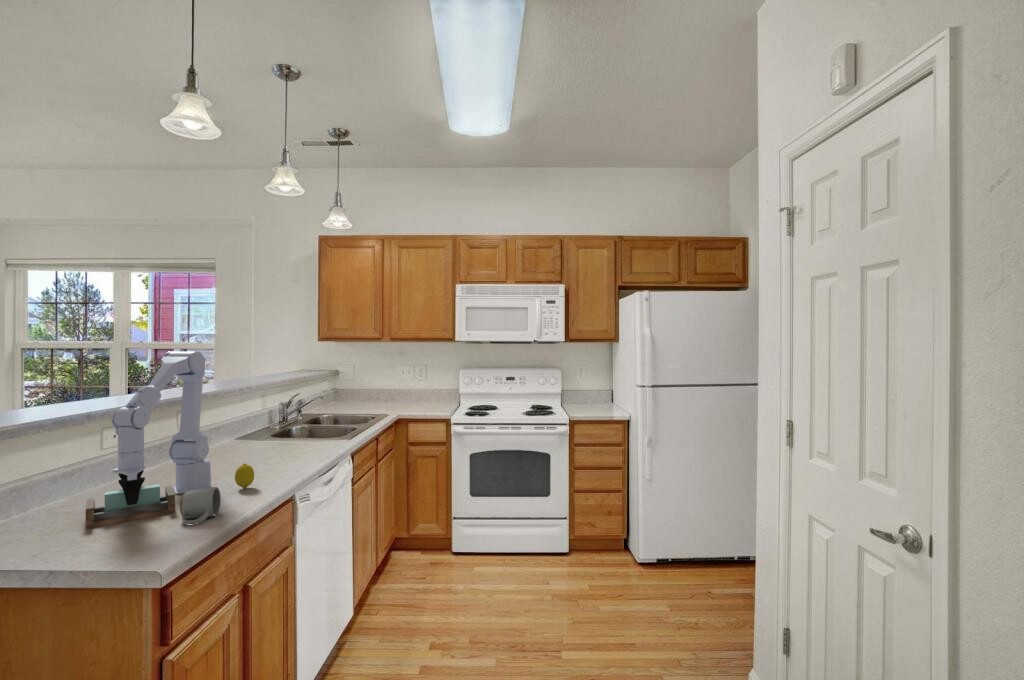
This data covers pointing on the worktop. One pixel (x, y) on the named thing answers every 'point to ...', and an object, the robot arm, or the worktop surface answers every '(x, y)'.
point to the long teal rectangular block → (146, 496)
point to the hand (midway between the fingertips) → (131, 500)
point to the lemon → (244, 475)
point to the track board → (129, 511)
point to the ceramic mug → (200, 504)
